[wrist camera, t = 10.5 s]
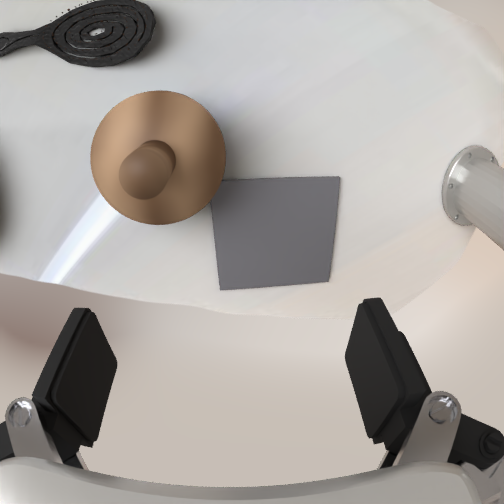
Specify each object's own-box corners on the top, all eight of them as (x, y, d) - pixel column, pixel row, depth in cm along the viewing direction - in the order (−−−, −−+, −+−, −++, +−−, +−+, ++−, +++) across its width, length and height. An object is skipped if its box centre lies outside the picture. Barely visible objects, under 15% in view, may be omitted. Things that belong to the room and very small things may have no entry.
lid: (221, 82, 24) (220, 82, 19) (230, 214, 30) (231, 242, 26) (85, 105, 23) (57, 112, 18) (108, 226, 30) (90, 253, 25)
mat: (338, 176, 34) (339, 177, 34) (327, 279, 42) (328, 281, 42) (209, 181, 34) (209, 183, 33) (220, 287, 41) (220, 290, 41)
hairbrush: (-18, 20, 16) (159, -10, 19) (-1, 21, 19) (168, -1, 22) (-28, 80, 20) (141, 67, 23) (-11, 77, 23) (151, 68, 26)
